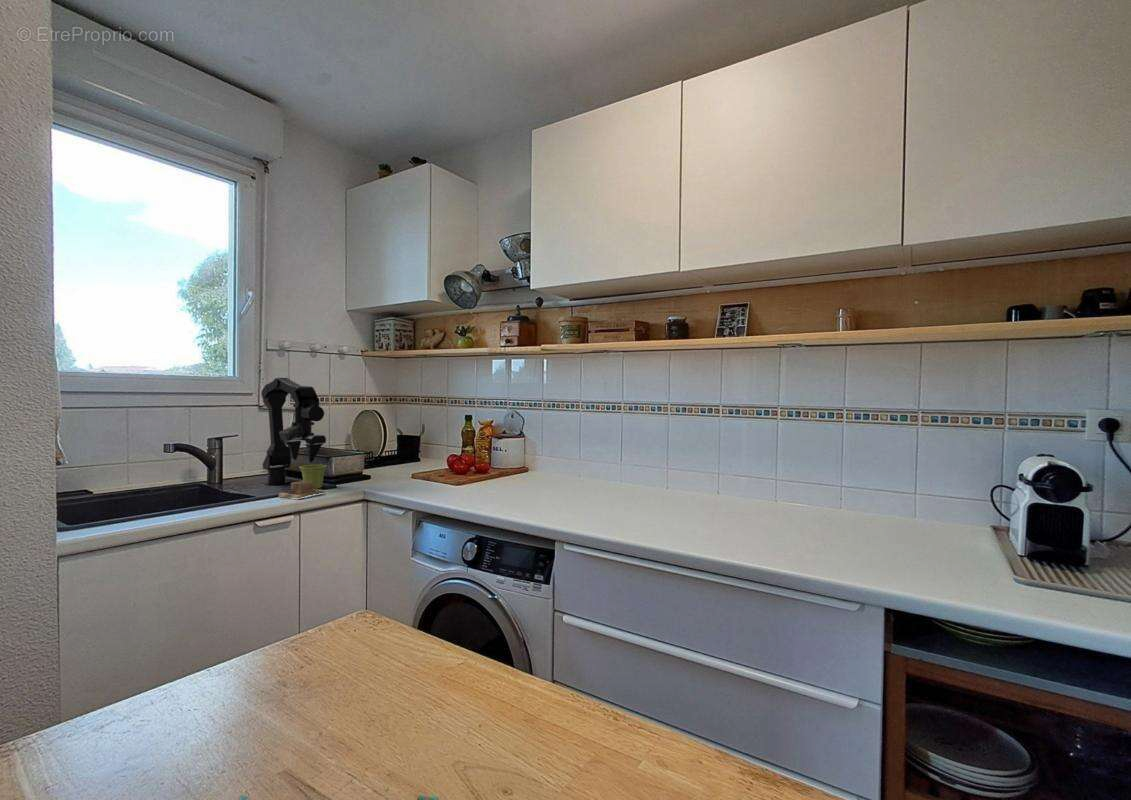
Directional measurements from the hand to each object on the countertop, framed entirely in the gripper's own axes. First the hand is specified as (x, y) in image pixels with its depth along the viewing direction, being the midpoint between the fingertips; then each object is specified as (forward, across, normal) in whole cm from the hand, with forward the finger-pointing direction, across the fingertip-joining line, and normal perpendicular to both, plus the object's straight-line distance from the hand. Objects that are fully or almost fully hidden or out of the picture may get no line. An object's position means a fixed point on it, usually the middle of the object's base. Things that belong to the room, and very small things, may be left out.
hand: (302, 460), depth 194 cm
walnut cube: (+11, +9, -7) cm, 16 cm away
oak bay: (+11, +9, -7) cm, 16 cm away
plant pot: (+12, 0, +5) cm, 13 cm away
